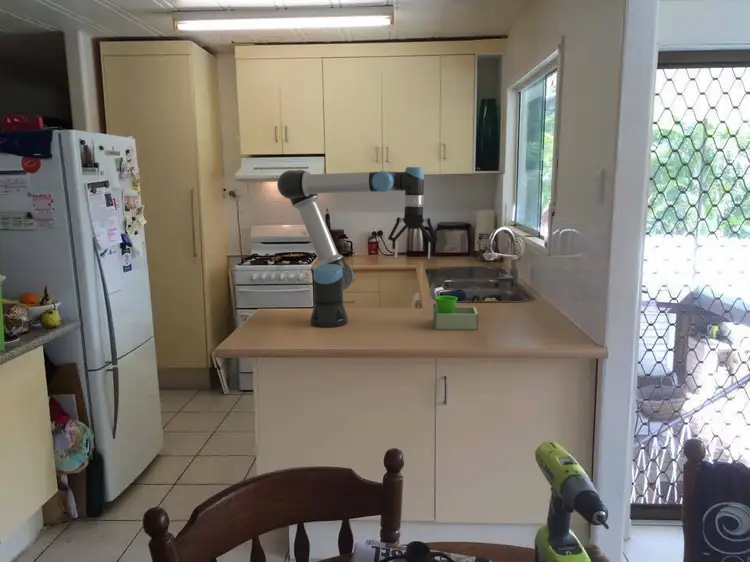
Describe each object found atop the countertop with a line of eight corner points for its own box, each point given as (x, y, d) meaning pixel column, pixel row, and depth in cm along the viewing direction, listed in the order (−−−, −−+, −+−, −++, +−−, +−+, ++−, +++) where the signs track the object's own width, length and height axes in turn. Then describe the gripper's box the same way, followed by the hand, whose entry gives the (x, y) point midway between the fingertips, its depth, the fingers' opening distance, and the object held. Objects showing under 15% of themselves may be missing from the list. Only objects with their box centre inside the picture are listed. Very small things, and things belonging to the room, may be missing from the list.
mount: (433, 329, 230) (434, 311, 228) (433, 320, 243) (433, 303, 242) (477, 329, 228) (478, 311, 227) (474, 320, 242) (475, 303, 240)
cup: (456, 328, 231) (456, 300, 229) (433, 327, 233) (433, 299, 231) (457, 322, 239) (458, 296, 237) (435, 321, 241) (436, 295, 239)
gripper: (382, 205, 236) (381, 257, 240) (444, 207, 234) (442, 259, 237) (384, 204, 243) (383, 255, 247) (444, 206, 241) (442, 257, 245)
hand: (412, 257), depth 242 cm, fingers open, 13 cm apart
